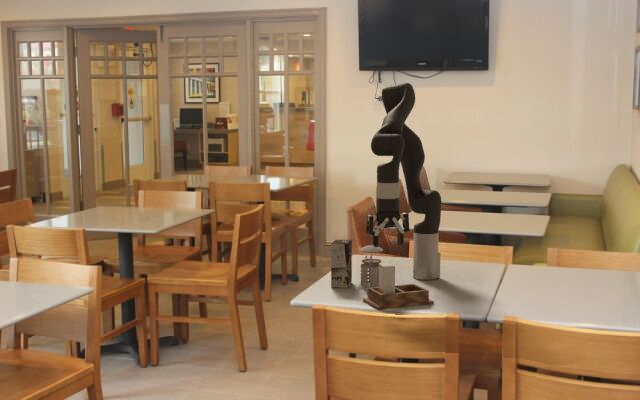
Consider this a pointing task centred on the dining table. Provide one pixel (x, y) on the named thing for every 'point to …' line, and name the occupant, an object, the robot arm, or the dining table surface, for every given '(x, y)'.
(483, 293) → the dining table surface
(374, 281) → the french press
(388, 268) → the skincare box
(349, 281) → the coffee box
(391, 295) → the wooden compartment tray
